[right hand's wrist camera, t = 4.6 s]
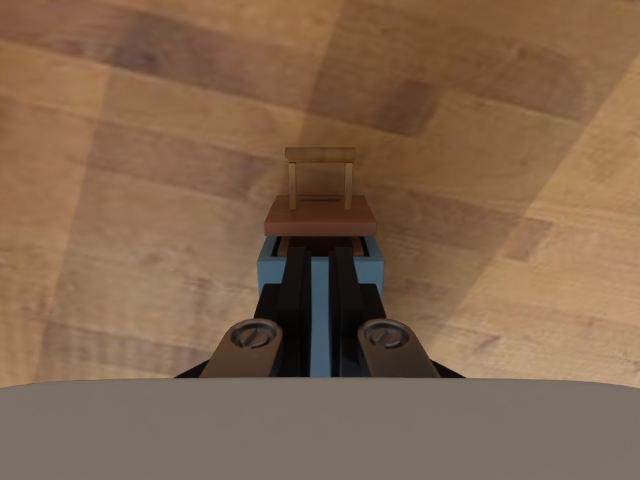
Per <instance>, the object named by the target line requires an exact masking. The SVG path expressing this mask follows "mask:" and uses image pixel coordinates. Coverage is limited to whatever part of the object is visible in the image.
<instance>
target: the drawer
mask: <svg viewBox="0 0 640 480" xmlns="http://www.w3.org/2000/svg"><path fill="white" fill-rule="evenodd" d="M285 159H286V162H289V163H288V170H289V196H277V197H276V199H275V201H274V203H273V205H272V207H271V209H270V212H269V214H268V216H267V218H266V220H265V222H264V230H265V236H282V238H281V242H280V245H279V249H278V252H277V257H287V255H288V250H289V247H305V251H311V257H329V251H335V247H351V250H352V255H353V257H364V252H363V249H362V246H361V242H360V239H359V236H376V230H377V222H376V220H375V218H374V216H373V214H372V212H371V210H370V207H369V205H368V203H367V201H366V199H365V197H364V196H352V170H353V163H352V162H355V159H356V149H355V148H286V149H285ZM296 162H345V189H344V196H297V193H296Z"/></svg>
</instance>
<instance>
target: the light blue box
mask: <svg viewBox="0 0 640 480" xmlns="http://www.w3.org/2000/svg"><path fill="white" fill-rule="evenodd" d="M281 238H282V236H267V237H266V240H265V242H264V245H263V247H262V250H261V252H260V255H259V258H258V260H257V273H258V288H259V298H260V295H261V292H262V289H263V285H264V283H281V282H282V278H283V273H284V268H285V264H286V259H287V257H277V252H278V249H279V245H280V242H281ZM359 239H360V242H361V246H362V249H363V252H364V257H353V259H354V264H355V268H356V273H357V278H358V282H359V283H376V286H377V289H378V292H379V295H380V298H381V302H382V288H383V274H384V260H383V257H382V254H381V252H380V250H379V247H378V245H377V242H376V240H375V237H374V236H359ZM328 268H329V257H311V269H312V340H311V368H310V377H330V368H329V340H328Z"/></svg>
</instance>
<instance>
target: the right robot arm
mask: <svg viewBox="0 0 640 480" xmlns="http://www.w3.org/2000/svg"><path fill="white" fill-rule="evenodd" d="M311 340H312V269H311V251H305V247H289V250H288V255H287V259H286V264H285V268H284V273H283V278H282V282H281V283H264V285H263V289H262V292H261V295H260V298H259V302H258V305H257V308H256V311H255V314H254V318H253V319H249V320H244V321H242V322H239V323H237V324H235V325H234V326H232V327H230V329H229V330H228V331H227V332H226V333H225V335H224V337H223V338H222V340H221V342H220V343H219V345H218V347H217V348H216V350H215V352H214V353H213V355H212V357H211V358H210V359H209V360H207V361H205V362H203V363H201V364H199V365H198V366H196V367H194V368H192V369H190V370H188V371H186V372H184V373H182V374H180V375H178V376H176V377H174V378H164V379H108V380H77V381H57V382H44V383H33V384H26V385H18V386H11V387H6V388H1V389H0V480H640V389H639V388H634V387H629V386H622V385H614V384H606V383H597V382H583V381H566V380H530V379H483V378H466V377H464V376H462V375H460V374H458V373H456V372H454V371H452V370H450V369H448V368H446V367H444V366H442V365H441V364H439V363H437V362H435V361H433V360H431V359H430V358H429V357H428V355H427V353H426V352H425V350H424V348H423V347H422V345H421V343H420V342H419V340H418V338H417V337H416V335H415V333H414V332H413V331H412V330H411V329H410V327H408V326H406V325H405V324H403V323H401V322H398V321H396V320H391V319H387V318H386V314H385V311H384V308H383V305H382V302H381V298H380V295H379V292H378V289H377V286H376V283H359V282H358V278H357V273H356V268H355V264H354V259H353V255H352V250H351V247H335V251H329V268H328V340H329V368H330V377H310V368H311Z"/></svg>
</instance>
